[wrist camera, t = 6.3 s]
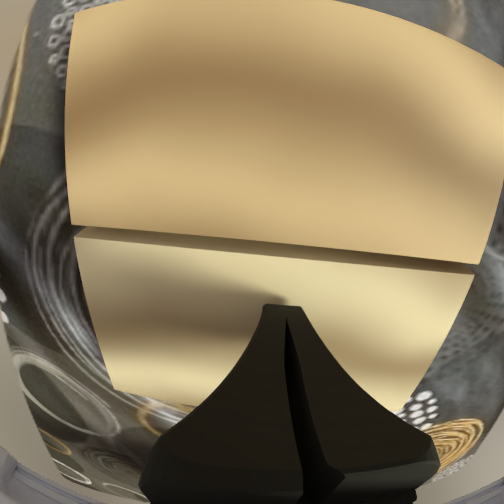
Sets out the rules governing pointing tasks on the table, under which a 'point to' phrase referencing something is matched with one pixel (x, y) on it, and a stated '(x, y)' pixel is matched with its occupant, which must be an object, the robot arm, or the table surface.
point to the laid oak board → (283, 126)
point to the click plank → (259, 308)
